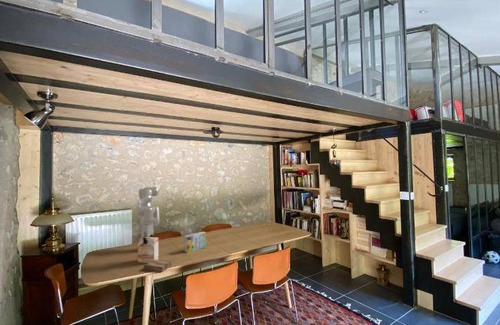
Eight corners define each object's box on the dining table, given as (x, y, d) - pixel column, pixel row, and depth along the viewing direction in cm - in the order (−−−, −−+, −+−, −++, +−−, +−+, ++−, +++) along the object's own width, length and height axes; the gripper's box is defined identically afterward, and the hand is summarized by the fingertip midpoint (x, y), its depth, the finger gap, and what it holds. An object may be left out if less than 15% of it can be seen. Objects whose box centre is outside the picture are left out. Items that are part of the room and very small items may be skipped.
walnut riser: (153, 264, 196) (153, 259, 196) (170, 266, 193) (170, 261, 193) (143, 270, 185) (143, 265, 185) (162, 272, 181) (162, 267, 181)
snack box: (203, 246, 240) (203, 231, 240) (206, 247, 236) (206, 232, 236) (184, 251, 225) (184, 235, 225) (187, 253, 221) (187, 236, 221)
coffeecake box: (137, 262, 200) (137, 238, 200) (142, 259, 207) (142, 236, 207) (154, 263, 198) (154, 239, 198) (158, 260, 205) (158, 237, 205)
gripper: (149, 219, 212) (149, 239, 212) (138, 224, 195) (138, 245, 194) (157, 220, 211) (157, 239, 211) (146, 224, 194) (146, 245, 194)
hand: (148, 242), depth 203 cm, fingers open, 9 cm apart
